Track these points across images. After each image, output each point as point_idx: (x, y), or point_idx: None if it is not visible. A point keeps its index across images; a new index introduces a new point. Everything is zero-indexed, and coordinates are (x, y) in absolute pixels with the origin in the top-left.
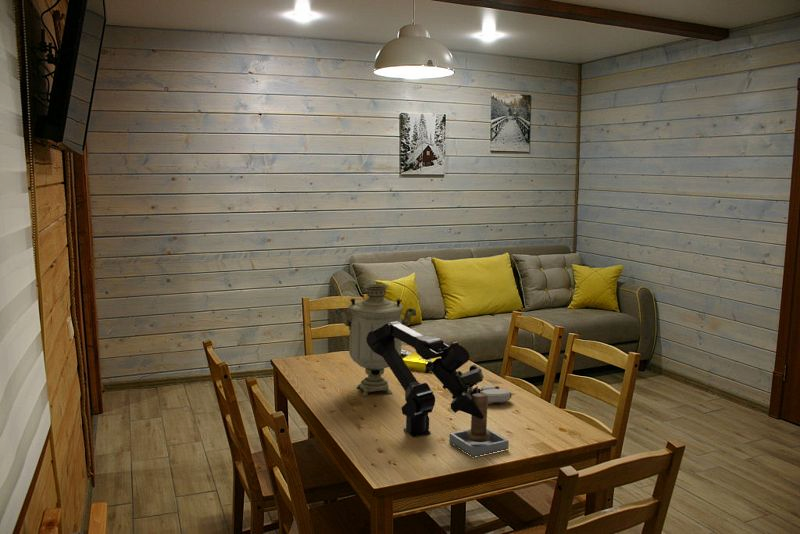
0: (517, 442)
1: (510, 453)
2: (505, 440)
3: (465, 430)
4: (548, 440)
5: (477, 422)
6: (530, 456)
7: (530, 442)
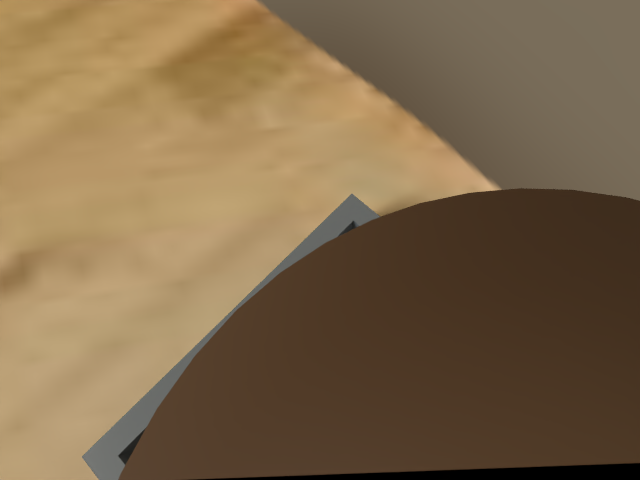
0: (199, 192)
1: (391, 205)
2: (359, 214)
3: None
4: (127, 49)
5: (504, 475)
6: (387, 102)
7: (180, 125)
